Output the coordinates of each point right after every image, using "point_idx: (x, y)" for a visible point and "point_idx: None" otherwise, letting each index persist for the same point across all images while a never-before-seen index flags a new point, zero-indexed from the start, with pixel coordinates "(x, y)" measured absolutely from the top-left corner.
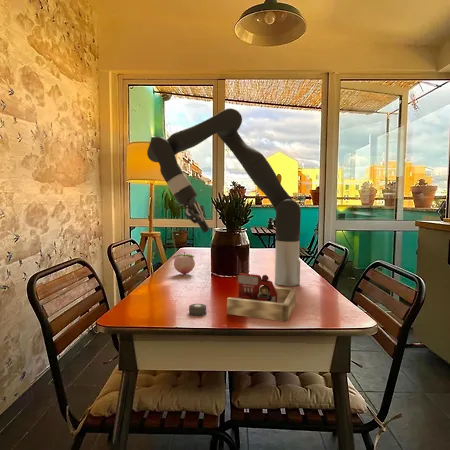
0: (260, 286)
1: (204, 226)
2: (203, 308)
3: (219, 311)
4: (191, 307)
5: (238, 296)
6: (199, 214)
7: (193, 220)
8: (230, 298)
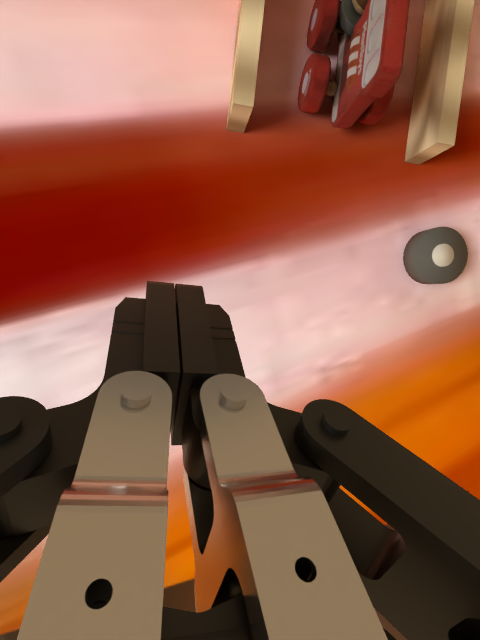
0: (257, 21)
1: (229, 334)
2: (456, 231)
3: (400, 193)
4: (455, 271)
5: (354, 121)
6: (314, 488)
7: (348, 511)
8: (449, 133)
